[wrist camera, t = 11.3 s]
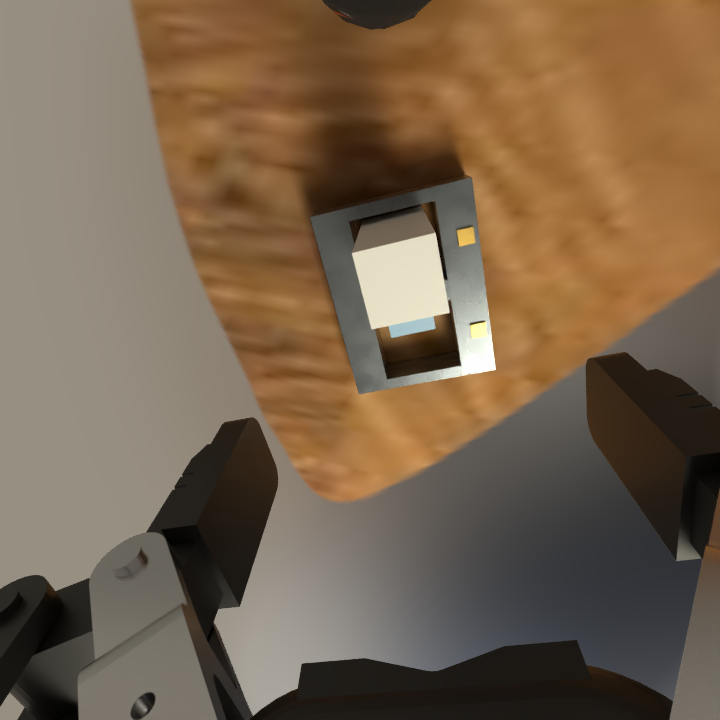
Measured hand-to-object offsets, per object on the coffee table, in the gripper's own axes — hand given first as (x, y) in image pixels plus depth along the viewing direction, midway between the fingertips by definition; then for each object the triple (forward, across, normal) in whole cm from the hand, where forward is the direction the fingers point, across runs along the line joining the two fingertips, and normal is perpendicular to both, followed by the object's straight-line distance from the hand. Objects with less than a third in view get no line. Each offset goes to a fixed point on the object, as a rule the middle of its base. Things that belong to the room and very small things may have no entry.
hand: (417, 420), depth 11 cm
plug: (+22, 0, 0) cm, 22 cm away
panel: (+22, 0, +3) cm, 22 cm away
